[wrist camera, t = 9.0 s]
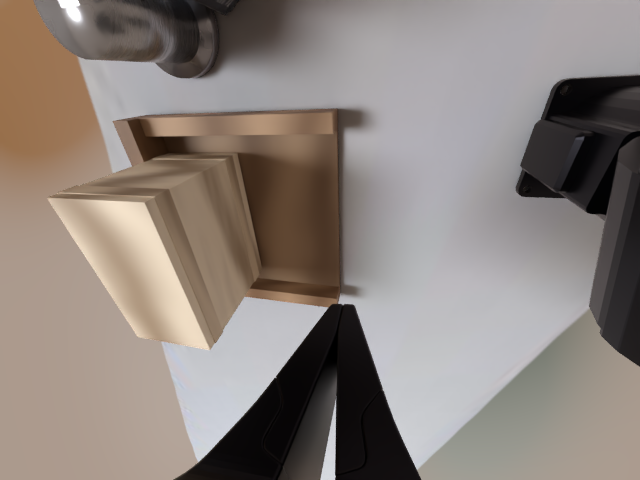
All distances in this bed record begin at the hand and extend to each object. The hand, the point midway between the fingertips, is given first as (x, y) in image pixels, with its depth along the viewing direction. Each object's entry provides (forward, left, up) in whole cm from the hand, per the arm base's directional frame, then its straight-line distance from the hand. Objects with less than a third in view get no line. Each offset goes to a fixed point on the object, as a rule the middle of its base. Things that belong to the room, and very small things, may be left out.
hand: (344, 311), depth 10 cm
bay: (+10, +3, -12) cm, 16 cm away
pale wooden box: (+13, +3, -12) cm, 18 cm away
